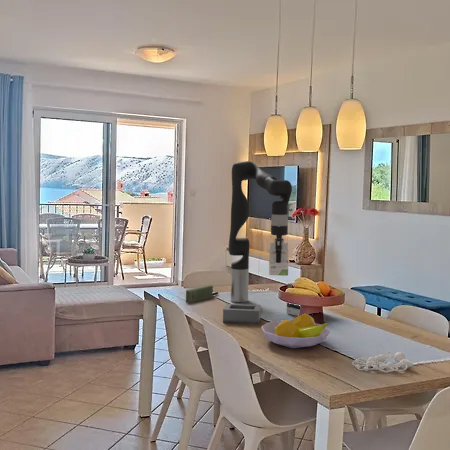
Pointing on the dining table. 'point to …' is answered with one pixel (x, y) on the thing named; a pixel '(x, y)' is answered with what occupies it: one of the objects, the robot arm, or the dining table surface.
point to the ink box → (278, 267)
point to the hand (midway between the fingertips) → (278, 261)
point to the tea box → (293, 306)
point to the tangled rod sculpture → (381, 358)
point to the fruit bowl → (296, 332)
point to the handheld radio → (199, 293)
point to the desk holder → (242, 313)
